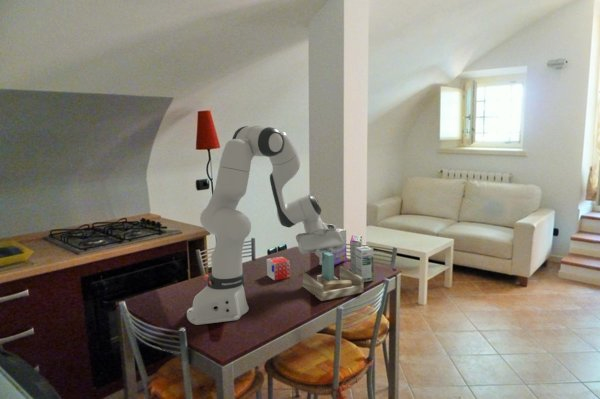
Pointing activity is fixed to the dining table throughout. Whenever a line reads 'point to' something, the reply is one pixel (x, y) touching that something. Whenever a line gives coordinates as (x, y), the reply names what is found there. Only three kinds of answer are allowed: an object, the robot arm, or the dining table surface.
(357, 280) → the frame
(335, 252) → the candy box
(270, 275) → the red white patterned cube
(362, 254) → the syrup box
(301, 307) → the dining table surface
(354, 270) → the candy bar box
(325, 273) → the teal panel
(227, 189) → the robot arm
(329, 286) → the upper offcut
